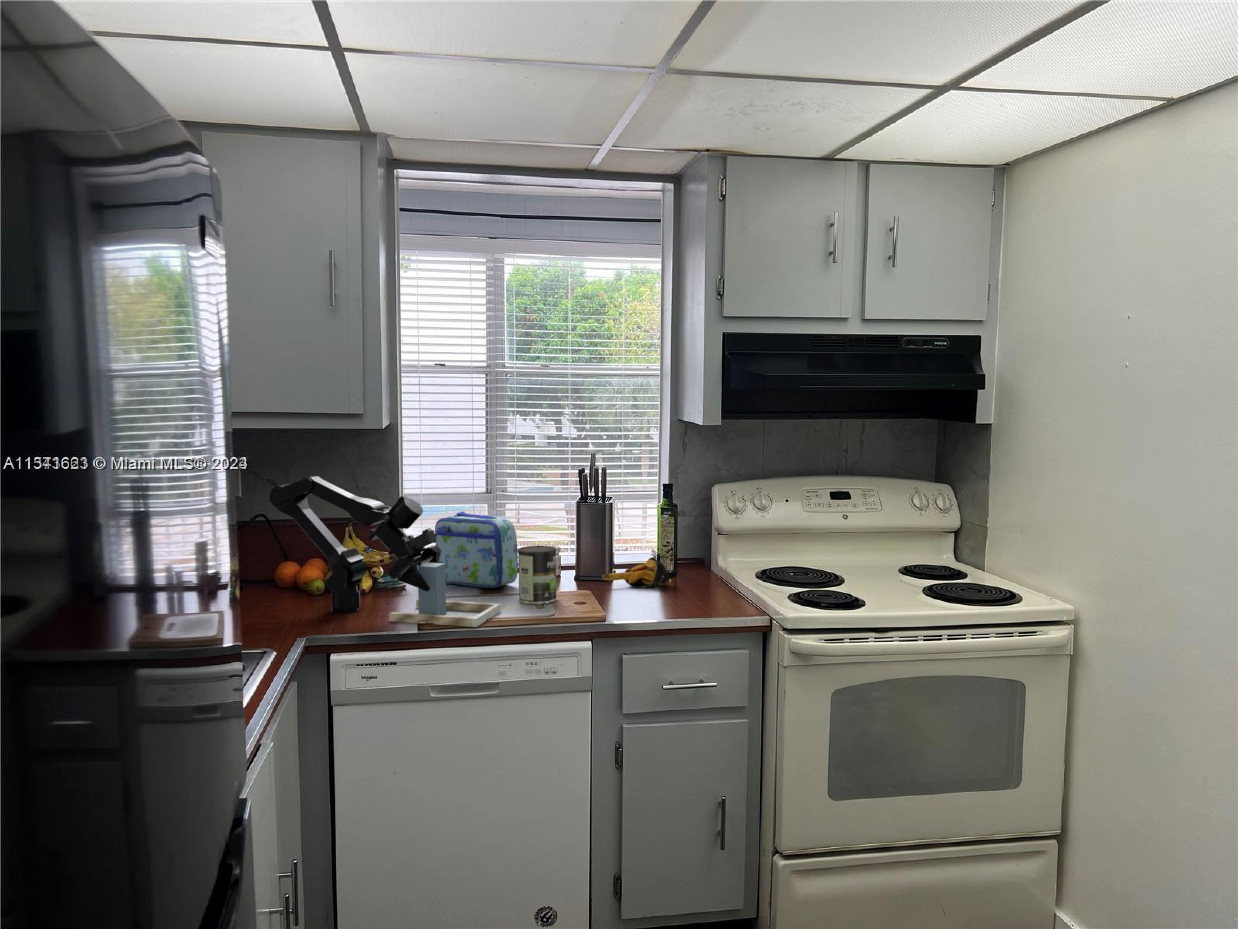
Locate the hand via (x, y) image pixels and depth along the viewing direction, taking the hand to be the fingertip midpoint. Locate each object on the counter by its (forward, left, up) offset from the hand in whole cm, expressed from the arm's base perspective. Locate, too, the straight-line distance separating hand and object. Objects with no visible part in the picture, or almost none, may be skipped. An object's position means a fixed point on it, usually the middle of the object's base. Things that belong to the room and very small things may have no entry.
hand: (437, 586), depth 219 cm
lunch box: (+12, +34, -8) cm, 37 cm away
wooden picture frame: (+2, -1, -8) cm, 8 cm away
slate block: (-1, +1, -8) cm, 8 cm away
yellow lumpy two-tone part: (+57, +19, -8) cm, 61 cm away
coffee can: (+27, +10, -8) cm, 30 cm away
